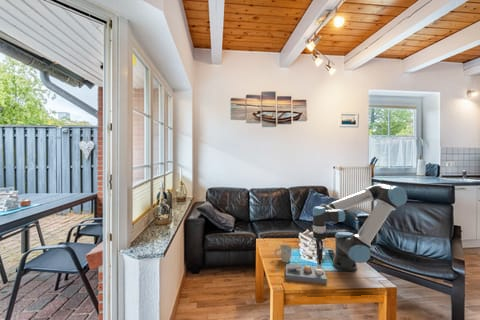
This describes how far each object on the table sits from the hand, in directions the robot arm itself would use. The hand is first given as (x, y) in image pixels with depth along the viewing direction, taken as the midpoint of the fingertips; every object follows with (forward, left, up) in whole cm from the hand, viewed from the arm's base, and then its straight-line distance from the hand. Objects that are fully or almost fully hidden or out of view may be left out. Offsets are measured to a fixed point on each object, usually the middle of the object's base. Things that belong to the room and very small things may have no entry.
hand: (319, 268), depth 143 cm
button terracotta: (+7, 0, -3) cm, 8 cm away
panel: (+9, 0, -6) cm, 10 cm away
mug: (+23, -19, -6) cm, 31 cm away
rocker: (+15, 0, 0) cm, 15 cm away
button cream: (0, 0, -4) cm, 4 cm away
